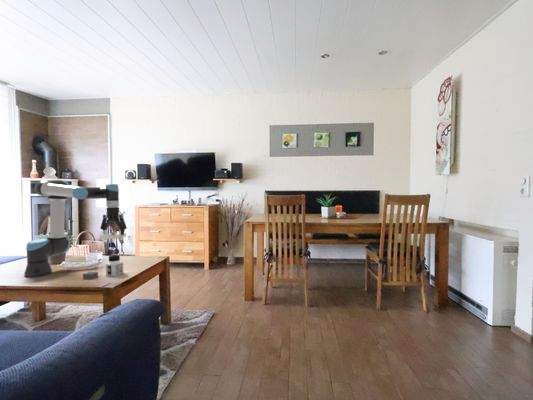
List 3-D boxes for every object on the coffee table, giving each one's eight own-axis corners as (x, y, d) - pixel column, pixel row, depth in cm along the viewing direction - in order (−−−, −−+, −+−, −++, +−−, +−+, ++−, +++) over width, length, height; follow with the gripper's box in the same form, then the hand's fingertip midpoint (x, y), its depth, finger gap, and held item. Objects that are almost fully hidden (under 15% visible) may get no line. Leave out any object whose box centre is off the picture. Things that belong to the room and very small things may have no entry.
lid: (100, 238, 200) (100, 232, 200) (112, 236, 210) (112, 230, 210) (115, 238, 197) (114, 233, 197) (126, 236, 208) (126, 230, 208)
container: (115, 276, 200) (115, 256, 200) (105, 275, 202) (105, 256, 201) (123, 272, 208) (123, 254, 207) (113, 272, 209) (113, 253, 209)
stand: (82, 278, 195) (82, 274, 195) (90, 276, 201) (90, 271, 201) (90, 279, 194) (90, 274, 193) (98, 276, 199) (97, 272, 199)
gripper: (93, 207, 202) (94, 240, 203) (124, 207, 197) (125, 240, 198) (101, 206, 210) (102, 238, 210) (131, 206, 205) (132, 239, 205)
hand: (113, 239), depth 204 cm, fingers closed on lid, 11 cm apart
